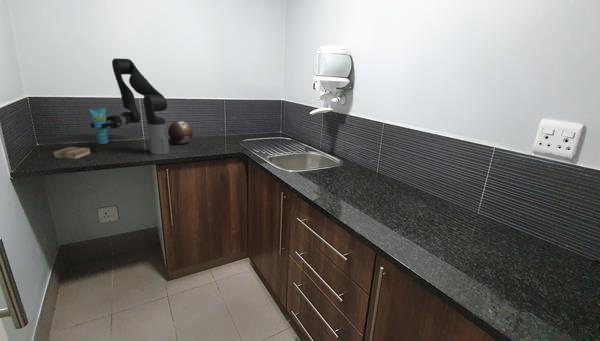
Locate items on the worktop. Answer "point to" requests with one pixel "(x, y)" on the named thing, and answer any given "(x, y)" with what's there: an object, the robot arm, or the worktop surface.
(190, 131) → the wooden sphere
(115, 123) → the robot arm
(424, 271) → the worktop surface
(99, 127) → the tube
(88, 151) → the plinth
